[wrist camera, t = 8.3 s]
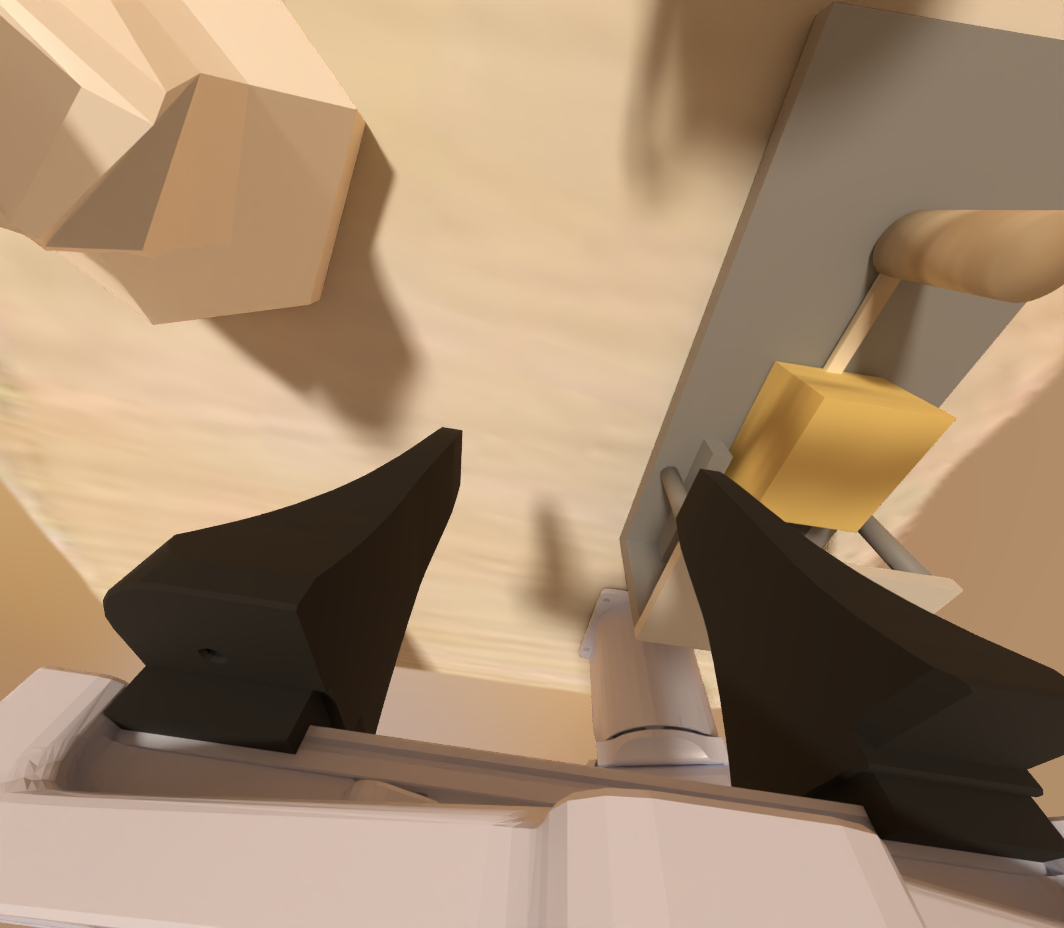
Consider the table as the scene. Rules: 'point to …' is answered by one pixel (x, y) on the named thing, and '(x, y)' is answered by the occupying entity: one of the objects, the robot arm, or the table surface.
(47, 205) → the cream faceted rock
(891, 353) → the plate
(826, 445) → the yellow block
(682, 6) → the table surface
